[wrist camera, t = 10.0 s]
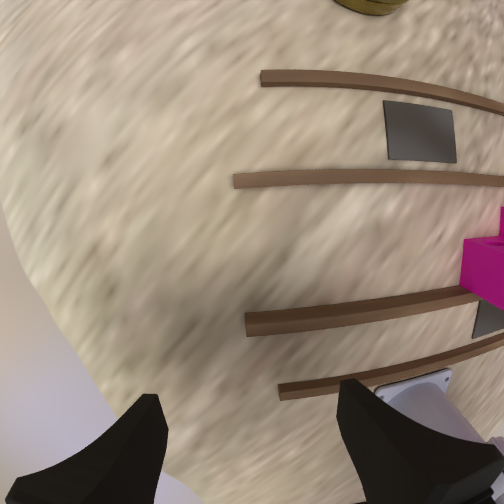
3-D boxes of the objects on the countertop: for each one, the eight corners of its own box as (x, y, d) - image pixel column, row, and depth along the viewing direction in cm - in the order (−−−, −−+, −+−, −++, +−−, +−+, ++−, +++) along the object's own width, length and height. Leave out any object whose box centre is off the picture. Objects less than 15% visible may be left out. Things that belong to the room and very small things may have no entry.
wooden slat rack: (538, 323, 23) (559, 337, 19) (252, 395, 22) (254, 431, 18) (552, 126, 17) (578, 125, 14) (227, 77, 17) (224, 52, 13)
